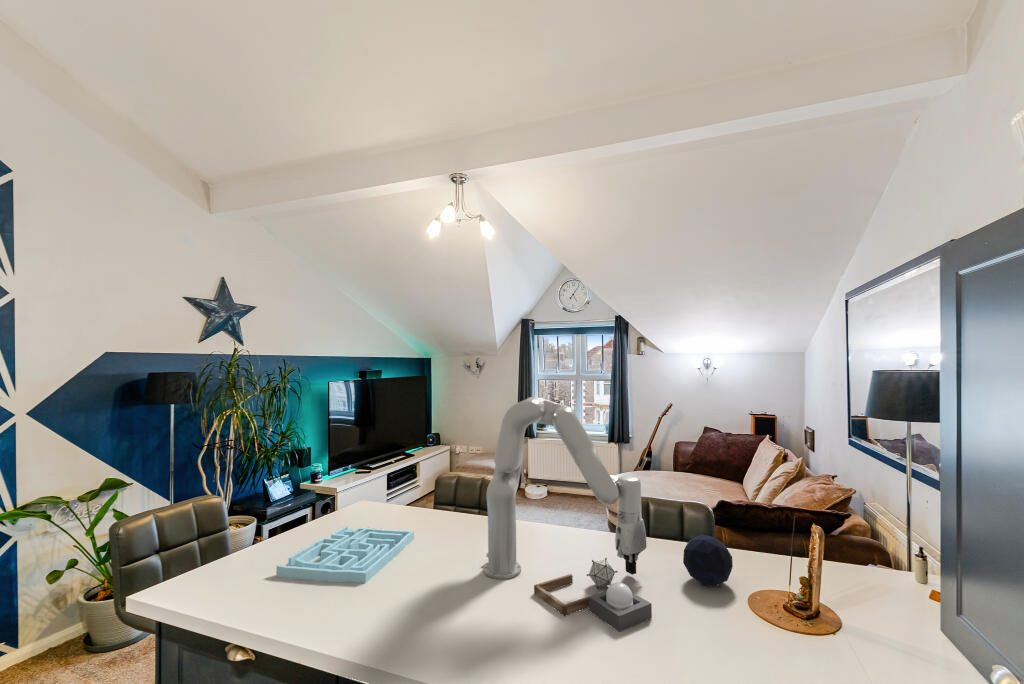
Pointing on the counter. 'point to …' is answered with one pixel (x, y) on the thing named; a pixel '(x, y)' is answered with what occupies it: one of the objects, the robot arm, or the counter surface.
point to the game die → (601, 573)
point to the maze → (347, 555)
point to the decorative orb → (707, 560)
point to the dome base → (620, 611)
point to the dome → (619, 596)
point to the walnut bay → (554, 602)
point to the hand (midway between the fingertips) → (630, 572)
